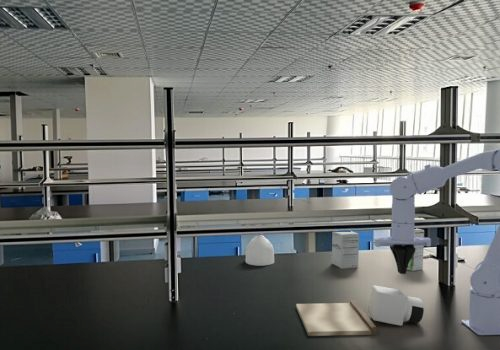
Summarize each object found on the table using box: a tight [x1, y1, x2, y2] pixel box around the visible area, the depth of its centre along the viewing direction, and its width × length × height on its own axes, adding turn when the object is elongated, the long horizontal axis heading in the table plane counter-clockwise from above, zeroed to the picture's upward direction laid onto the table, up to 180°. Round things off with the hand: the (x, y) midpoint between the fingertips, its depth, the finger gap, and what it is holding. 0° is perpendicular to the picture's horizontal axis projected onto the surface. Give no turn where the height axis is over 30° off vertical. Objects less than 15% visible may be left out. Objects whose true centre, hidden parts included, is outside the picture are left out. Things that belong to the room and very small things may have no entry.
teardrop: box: [245, 234, 275, 267], centre depth 166 cm, size 11×11×12 cm
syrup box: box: [406, 228, 425, 272], centre depth 157 cm, size 6×6×14 cm
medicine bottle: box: [367, 284, 425, 327], centre depth 109 cm, size 7×7×12 cm
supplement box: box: [331, 230, 360, 270], centre depth 161 cm, size 7×7×13 cm
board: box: [295, 299, 377, 337], centre depth 110 cm, size 16×18×2 cm
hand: (401, 272), depth 116 cm, fingers closed
